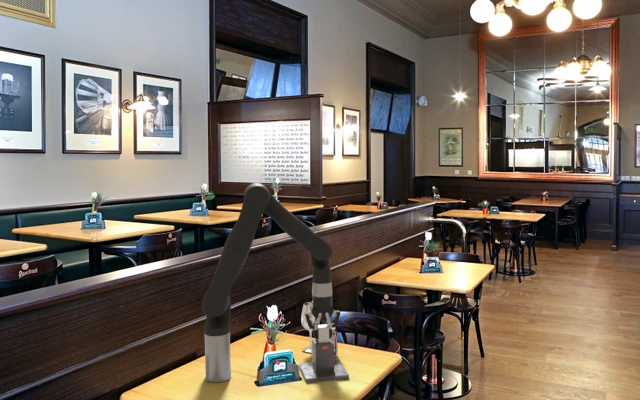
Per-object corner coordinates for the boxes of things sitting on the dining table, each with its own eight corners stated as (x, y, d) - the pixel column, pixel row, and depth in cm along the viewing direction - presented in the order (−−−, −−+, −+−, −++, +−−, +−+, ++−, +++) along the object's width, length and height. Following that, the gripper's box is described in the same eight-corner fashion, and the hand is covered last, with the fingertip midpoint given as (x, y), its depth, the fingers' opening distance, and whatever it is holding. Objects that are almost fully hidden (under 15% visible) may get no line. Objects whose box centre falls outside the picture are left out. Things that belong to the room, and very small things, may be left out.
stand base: (306, 382, 207) (305, 350, 206) (299, 367, 223) (298, 336, 222) (349, 378, 211) (348, 346, 210) (339, 363, 226) (338, 333, 225)
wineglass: (299, 348, 245) (298, 302, 243) (317, 346, 247) (316, 300, 246) (304, 354, 237) (303, 306, 236) (322, 352, 240) (321, 305, 238)
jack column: (319, 370, 214) (318, 328, 213) (317, 366, 218) (316, 325, 217) (329, 369, 215) (329, 327, 214) (327, 365, 219) (326, 324, 218)
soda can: (318, 357, 233) (317, 328, 232) (325, 352, 239) (325, 324, 238) (333, 360, 230) (332, 330, 229) (340, 355, 236) (339, 326, 235)
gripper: (305, 297, 209) (305, 343, 211) (343, 295, 212) (343, 340, 213) (301, 292, 217) (302, 337, 218) (338, 290, 220) (338, 334, 221)
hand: (322, 338), depth 216 cm, fingers open, 4 cm apart
